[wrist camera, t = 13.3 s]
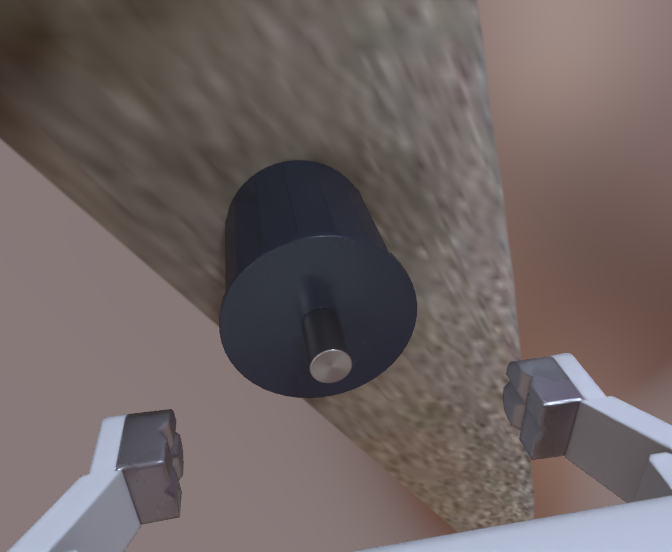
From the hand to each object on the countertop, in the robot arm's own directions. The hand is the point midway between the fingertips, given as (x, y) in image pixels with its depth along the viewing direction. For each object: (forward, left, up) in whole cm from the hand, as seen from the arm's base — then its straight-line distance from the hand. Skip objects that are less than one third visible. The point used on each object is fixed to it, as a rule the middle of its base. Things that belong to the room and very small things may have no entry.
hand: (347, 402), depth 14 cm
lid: (+11, -2, -19) cm, 22 cm away
